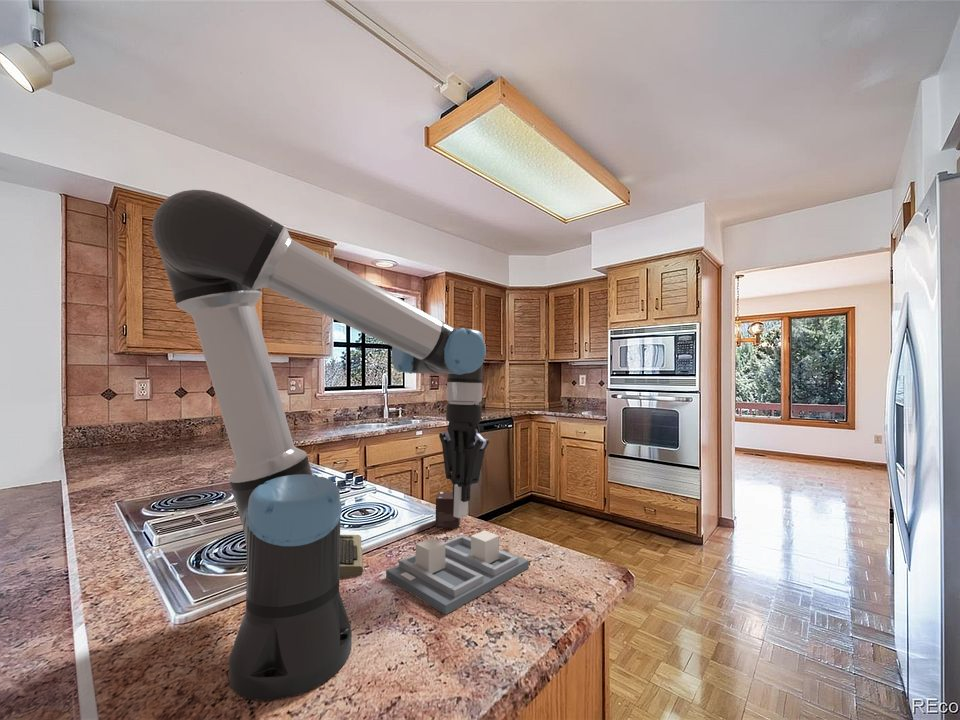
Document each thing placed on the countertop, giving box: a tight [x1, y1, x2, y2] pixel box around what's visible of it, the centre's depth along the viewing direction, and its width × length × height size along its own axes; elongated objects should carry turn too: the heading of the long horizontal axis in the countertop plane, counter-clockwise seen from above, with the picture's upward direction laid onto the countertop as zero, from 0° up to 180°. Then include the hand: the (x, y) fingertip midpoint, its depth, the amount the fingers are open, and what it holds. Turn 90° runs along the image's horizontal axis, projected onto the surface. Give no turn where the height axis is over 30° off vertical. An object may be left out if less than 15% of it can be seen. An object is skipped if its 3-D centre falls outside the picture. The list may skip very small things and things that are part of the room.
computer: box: [339, 534, 364, 579], centre depth 85 cm, size 16×8×3 cm, turn 17°
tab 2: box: [470, 530, 500, 564], centre depth 82 cm, size 4×4×4 cm
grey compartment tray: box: [385, 535, 530, 615], centre depth 80 cm, size 22×17×3 cm
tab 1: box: [415, 537, 445, 574], centre depth 78 cm, size 4×4×4 cm
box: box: [435, 491, 462, 528], centre depth 106 cm, size 6×6×7 cm
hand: (460, 515), depth 86 cm, fingers closed
